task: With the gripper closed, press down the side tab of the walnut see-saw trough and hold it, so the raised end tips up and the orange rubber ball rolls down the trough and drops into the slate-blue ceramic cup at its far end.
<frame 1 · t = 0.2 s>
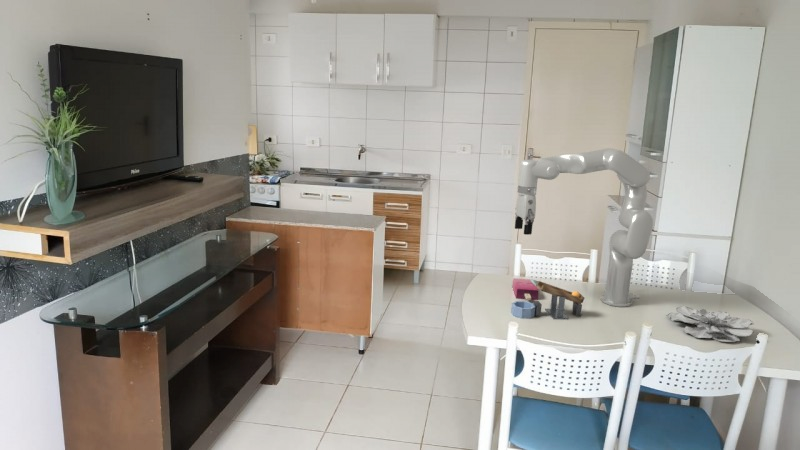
hand: (522, 231, 238), 31 cm above the table, tool pointing down, fingers open, 9 cm apart
decorative wall flower: (709, 329, 226), on the table
popsicle: (525, 296, 253), on the table
fulcrum: (556, 314, 232), on the table
lever: (557, 288, 234), point 10 cm above the table, hinge at -18.0°, touching ball
cup: (522, 314, 231), on the table
ball: (575, 295, 231), point 8 cm above the table, tilted 13°, touching lever
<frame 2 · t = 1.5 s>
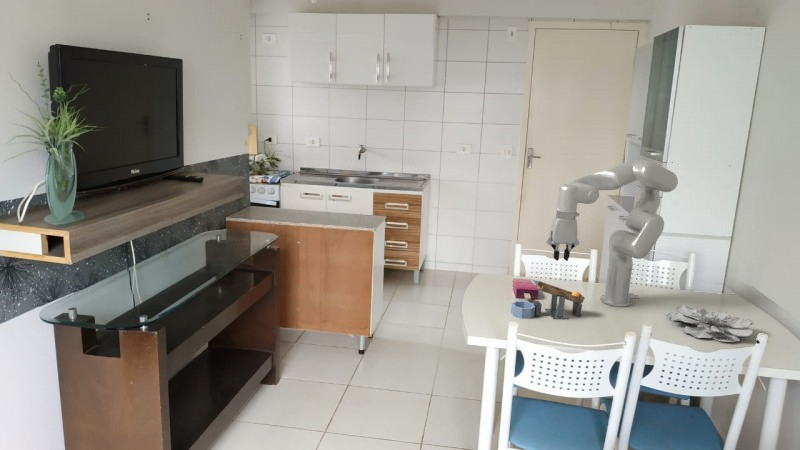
hand: (561, 259, 234), 21 cm above the table, tool pointing down, fingers open, 3 cm apart
nothing on the table moved.
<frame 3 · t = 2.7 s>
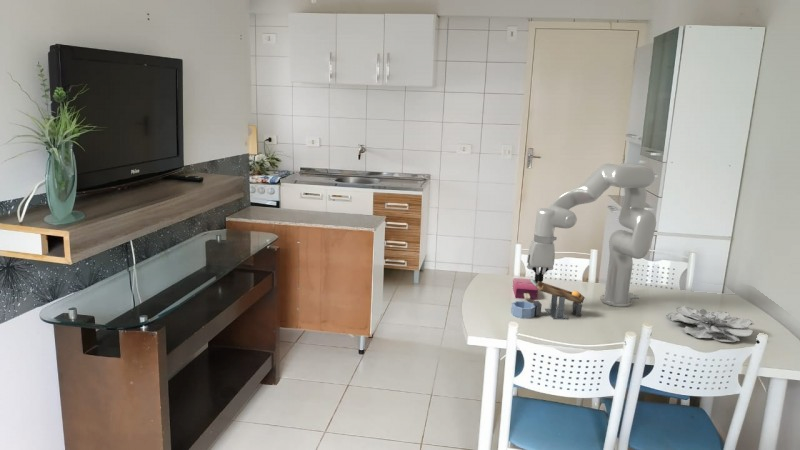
hand: (538, 282, 236), 11 cm above the table, tool pointing down, fingers closed
lever: (557, 288, 234), point 10 cm above the table, hinge at -17.2°, touching ball, gripper
everything else where it was.
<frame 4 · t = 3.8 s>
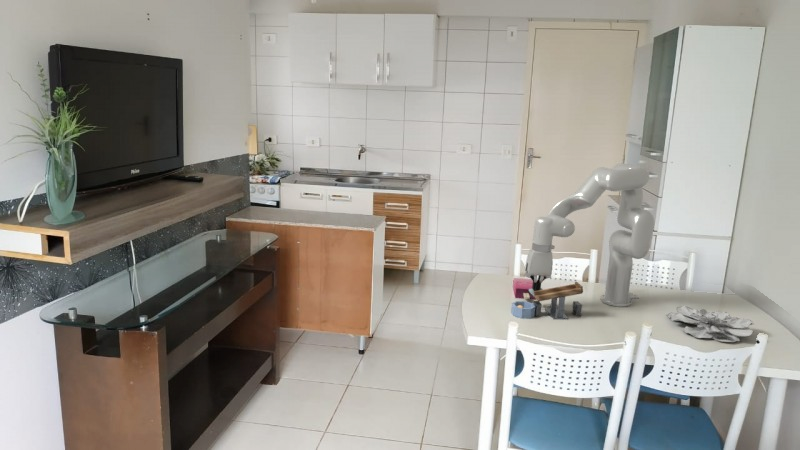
hand: (535, 291, 236), 8 cm above the table, tool pointing down, fingers closed
lever: (555, 288, 234), point 10 cm above the table, hinge at 11.5°, touching gripper
ball: (520, 309, 230), point 2 cm above the table, tilted 170°, touching cup
everything else where it was.
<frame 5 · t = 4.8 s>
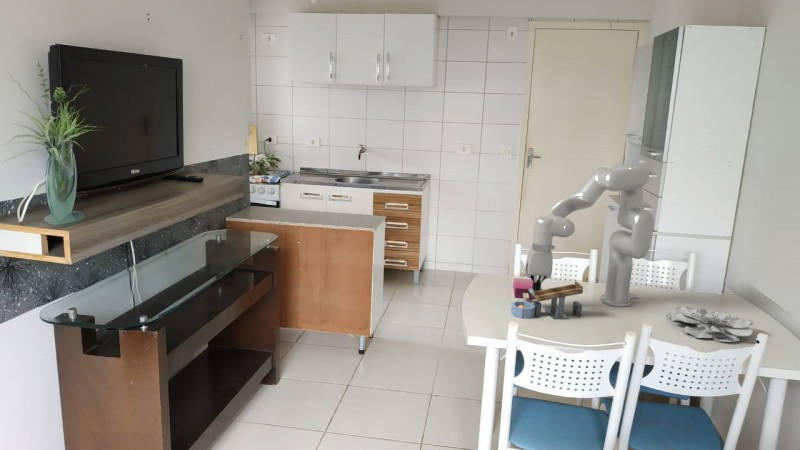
hand: (535, 291, 236), 8 cm above the table, tool pointing down, fingers closed
ball: (521, 309, 230), point 2 cm above the table, tilted 153°, touching cup
everything else where it was.
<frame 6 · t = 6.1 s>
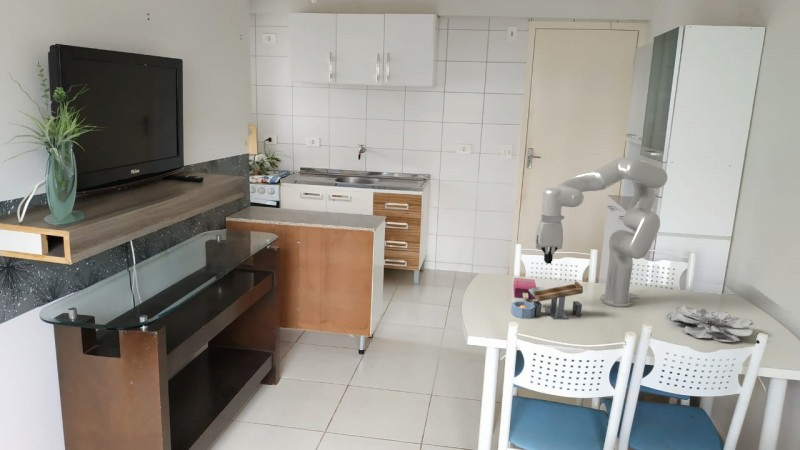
hand: (547, 262, 236), 19 cm above the table, tool pointing down, fingers closed
lever: (555, 288, 234), point 10 cm above the table, hinge at 11.7°
ball: (522, 309, 230), point 2 cm above the table, tilted 131°, touching cup
everything else where it was.
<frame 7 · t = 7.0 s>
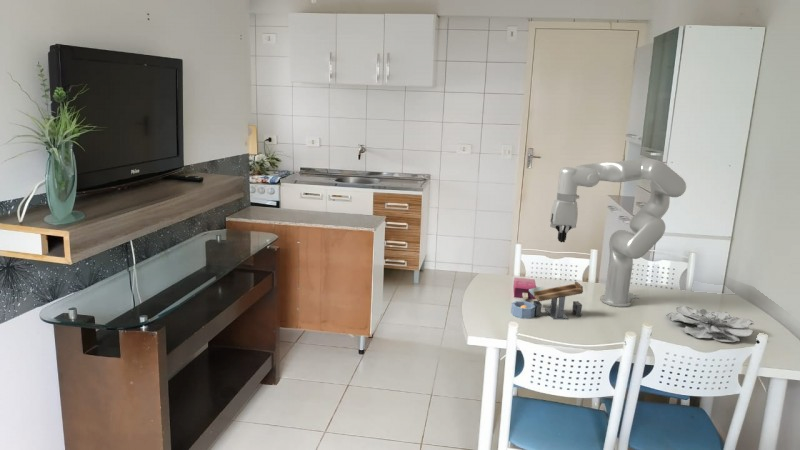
hand: (561, 241, 239), 27 cm above the table, tool pointing down, fingers closed
ball: (523, 309, 231), point 2 cm above the table, tilted 115°, touching cup
everything else where it was.
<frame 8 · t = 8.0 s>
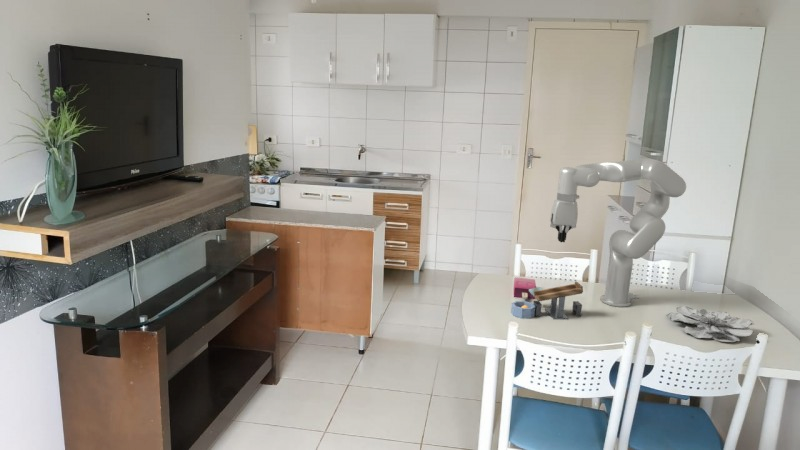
hand: (561, 241, 239), 27 cm above the table, tool pointing down, fingers closed
ball: (524, 309, 231), point 2 cm above the table, tilted 98°, touching cup
at the end: ball 0.8 cm off-centre on the cup, point 2.1 cm above the cup's base; ball moved 21.0 cm from its start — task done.
